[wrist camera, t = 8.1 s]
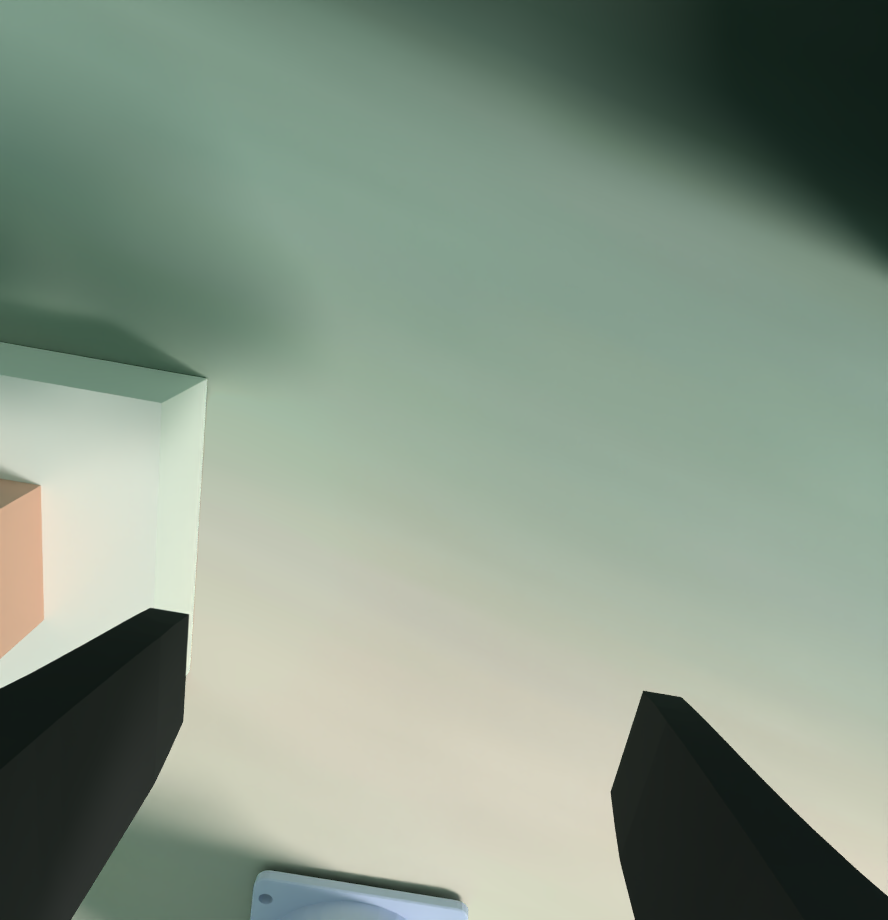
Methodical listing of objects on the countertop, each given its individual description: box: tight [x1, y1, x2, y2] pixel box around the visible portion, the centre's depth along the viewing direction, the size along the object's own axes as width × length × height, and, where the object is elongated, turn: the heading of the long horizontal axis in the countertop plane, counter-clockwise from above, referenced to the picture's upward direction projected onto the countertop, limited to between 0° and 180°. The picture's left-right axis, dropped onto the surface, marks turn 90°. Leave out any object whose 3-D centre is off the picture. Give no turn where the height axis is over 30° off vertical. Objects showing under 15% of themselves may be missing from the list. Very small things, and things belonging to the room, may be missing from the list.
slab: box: [0, 342, 207, 688], centre depth 19 cm, size 10×10×3 cm
